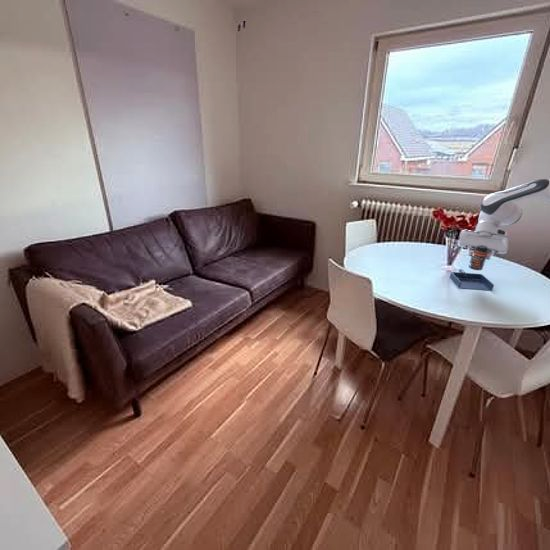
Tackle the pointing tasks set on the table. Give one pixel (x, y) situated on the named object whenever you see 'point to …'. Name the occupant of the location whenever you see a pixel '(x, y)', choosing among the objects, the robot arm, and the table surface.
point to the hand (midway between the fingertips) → (479, 257)
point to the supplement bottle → (478, 258)
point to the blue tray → (471, 281)
